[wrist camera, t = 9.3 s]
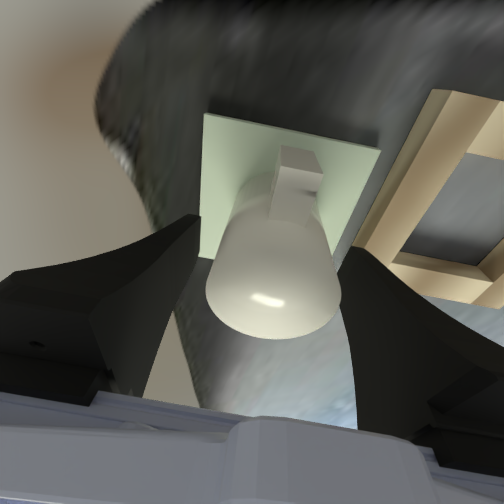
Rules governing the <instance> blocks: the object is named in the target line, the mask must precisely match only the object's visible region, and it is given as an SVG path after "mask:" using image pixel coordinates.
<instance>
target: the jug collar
mask: <svg viewBox="0 0 504 504" xmlns="http://www.w3.org/2000/svg"><path fill="white" fill-rule="evenodd" d="M466 152H468V153H472V154H477V155H482V156H487V157H491V158H496V159H501V160H504V102H503V101H499V100H494V99H489V98H485V97H480V96H476V95H471V94H466V93H462V92H457V91H452V90H441V89H432V90H431V92H430V94H429V96H428V98H427V100H426V102H425V104H424V106H423V108H422V110H421V112H420V114H419V116H418V118H417V119H416V121H415V123H414V125H413V127H412V129H411V131H410V133H409V135H408V137H407V139H406V141H405V143H404V145H403V147H402V149H401V150H400V152H399V154H398V156H397V158H396V160H395V162H394V164H393V166H392V168H391V170H390V172H389V174H388V176H387V178H386V180H385V182H384V183H383V185H382V187H381V189H380V191H379V193H378V195H377V197H376V199H375V201H374V203H373V205H372V207H371V209H370V211H369V213H368V214H367V216H366V218H365V220H364V222H363V224H362V226H361V228H360V230H359V232H358V234H357V236H356V238H355V240H354V242H353V244H352V246H356V247H361V248H364V249H366V250H367V251H369V252H370V253H371V254H372V255H373V256H375V257H376V258H377V259H378V260H379V261H380V262H381V263H382V264H384V265H385V266H386V267H387V268H388V269H389V270H390V271H391V272H393V273H394V274H395V275H396V276H397V277H398V278H399V279H401V280H402V281H403V282H404V283H405V284H406V285H408V286H409V287H410V288H411V289H413V290H414V291H415V292H416V293H418V294H422V295H427V296H432V297H437V298H443V299H448V300H453V301H458V302H464V303H469V304H474V305H479V306H485V307H490V308H495V309H500V308H501V307H502V306H504V238H503V239H502V240H501V241H500V243H499V244H498V245H497V246H496V247H495V248H494V249H493V250H492V251H491V252H490V253H489V254H488V255H487V256H486V257H485V258H484V259H483V260H482V261H481V262H480V263H479V264H478V265H477V266H472V265H467V264H462V263H457V262H452V261H447V260H441V259H436V258H431V257H426V256H421V255H416V254H411V253H406V252H400V251H399V250H400V249H401V248H402V246H403V245H404V243H405V242H406V240H407V239H408V237H409V236H410V234H411V233H412V231H413V230H414V228H415V227H416V225H417V224H418V222H419V221H420V219H421V218H422V216H423V215H424V213H425V212H426V210H427V209H428V207H429V206H430V204H431V203H432V202H433V200H434V199H435V197H436V196H437V194H438V193H439V191H440V190H441V188H442V187H443V185H444V184H445V182H446V181H447V179H448V178H449V176H450V175H451V173H452V172H453V170H454V169H455V167H456V166H457V164H458V163H459V161H460V160H461V158H462V157H463V156H464V154H465V153H466Z"/></svg>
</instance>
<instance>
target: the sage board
mask: <svg viewBox="0 0 504 504" xmlns="http://www.w3.org/2000/svg"><path fill="white" fill-rule="evenodd" d="M280 145H284V146H289V147H294V148H299V149H304V150H309V151H314V153H315V155H316V158H317V160H318V162H319V165H320V167H321V169H322V172H323V174H324V175H323V178H322V181H321V183H320V186H319V189H318V192H317V195H316V198H315V199H316V202H317V206H318V209H319V213H320V216H321V220H322V223H323V227H324V230H325V234H326V237H327V241H328V245H329V248H330V252H331V255H332V254H333V252H334V250H335V248H336V246H337V244H338V242H339V239H340V237H341V235H342V233H343V231H344V229H345V227H346V225H347V222H348V220H349V218H350V216H351V214H352V212H353V210H354V208H355V205H356V203H357V201H358V199H359V197H360V195H361V193H362V191H363V188H364V186H365V184H366V182H367V180H368V178H369V176H370V174H371V171H372V169H373V167H374V165H375V163H376V161H377V159H378V157H379V154H380V152H381V150H380V149H378V148H376V147H371V146H366V145H361V144H357V143H352V142H347V141H342V140H337V139H332V138H328V137H323V136H318V135H313V134H308V133H303V132H299V131H294V130H289V129H284V128H279V127H275V126H270V125H265V124H260V123H255V122H250V121H246V120H241V119H236V118H231V117H226V116H221V115H217V114H212V113H205V114H204V125H203V148H202V171H201V194H200V216H201V235H200V252H199V255H198V256H199V257H205V258H210V259H215V256H216V253H217V251H218V248H219V245H220V242H221V239H222V236H223V233H224V230H225V228H226V225H227V222H228V219H229V216H230V213H231V210H232V208H233V205H234V202H235V199H236V196H237V194H238V192H239V190H240V189H241V188H242V186H243V185H244V184H245V183H246V182H248V181H249V180H250V179H252V178H253V177H255V176H257V175H260V174H263V173H267V172H274V171H275V167H276V162H277V158H278V153H279V149H280Z"/></svg>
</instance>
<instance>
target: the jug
mask: <svg viewBox="0 0 504 504" xmlns="http://www.w3.org/2000/svg"><path fill="white" fill-rule="evenodd" d="M323 175H324V174H323V172H322V169H321V167H320V165H319V162H318V160H317V158H316V155H315V153H314V151H309V150H304V149H299V148H294V147H289V146H284V145H280V149H279V153H278V158H277V162H276V167H275V171H274V172H267V173H263V174H260V175H257V176H255V177H253V178H252V179H250V180H249V181H248V182H246V183H245V184H244V185H243V186H242V188H241V189H240V190H239V192H238V194H237V196H236V199H235V202H234V205H233V208H232V210H231V213H230V216H229V219H228V222H227V225H226V228H225V230H224V233H223V236H222V239H221V242H220V245H219V248H218V251H217V253H216V256H215V259H214V262H213V265H212V268H211V271H210V274H209V276H208V279H207V283H206V297H207V301H208V303H209V306H210V307H211V309H212V311H213V312H214V313H215V315H216V316H217V317H218V318H219V319H220V320H221V321H223V322H224V323H225V324H226V325H228V326H230V327H231V328H233V329H235V330H237V331H239V332H242V333H244V334H247V335H250V336H254V337H259V338H265V339H288V338H294V337H299V336H303V335H306V334H308V333H311V332H313V331H315V330H317V329H319V328H320V327H322V326H324V325H325V324H326V323H327V322H328V321H329V320H330V319H331V318H332V317H333V316H334V315H335V313H336V312H337V310H338V308H339V305H340V301H341V287H340V283H339V280H338V276H337V273H336V269H335V266H334V262H333V259H332V255H331V252H330V248H329V245H328V241H327V237H326V234H325V230H324V227H323V223H322V220H321V216H320V213H319V209H318V206H317V202H316V199H315V198H316V195H317V192H318V189H319V186H320V183H321V181H322V178H323Z"/></svg>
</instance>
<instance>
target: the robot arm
mask: <svg viewBox="0 0 504 504" xmlns="http://www.w3.org/2000/svg"><path fill="white" fill-rule="evenodd" d="M200 235H201V216H197V215H192V214H187V215H185V216H184V217H182V218H180V219H179V220H177V221H175V222H173V223H172V224H170V225H168V226H166V227H165V228H163V229H161V230H159V231H157V232H155V233H153V234H151V235H149V236H147V237H145V238H143V239H141V240H139V241H137V242H134V243H132V244H130V245H127V246H124V247H122V248H119V249H116V250H113V251H110V252H106V253H103V254H100V255H97V256H93V257H89V258H85V259H81V260H77V261H72V262H68V263H63V264H58V265H53V266H46V267H41V268H34V269H28V270H21V271H15V272H13V273H12V274H11V275H9V276H8V277H7V278H5V279H4V280H2V281H1V282H0V504H504V347H502V346H501V345H499V344H497V343H495V342H493V341H491V340H489V339H487V338H486V337H484V336H482V335H480V334H479V333H477V332H475V331H473V330H472V329H470V328H468V327H466V326H465V325H463V324H462V323H460V322H458V321H457V320H455V319H453V318H452V317H450V316H449V315H447V314H446V313H444V312H443V311H441V310H440V309H438V308H437V307H435V306H434V305H433V304H431V303H430V302H428V301H427V300H426V299H424V298H423V297H422V296H420V295H419V294H418V293H416V292H415V291H414V290H413V289H411V288H410V287H409V286H408V285H406V284H405V283H404V282H403V281H402V280H401V279H399V278H398V277H397V276H396V275H395V274H394V273H393V272H391V271H390V270H389V269H388V268H387V267H386V266H385V265H384V264H382V263H381V262H380V261H379V260H378V259H377V258H376V257H375V256H373V255H372V254H371V253H370V252H369V251H367V250H366V249H364V248H361V247H356V246H351V247H350V249H349V251H348V253H347V255H346V257H345V259H344V261H343V263H342V265H341V267H340V268H339V270H338V272H337V276H338V280H339V283H340V287H341V301H340V305H339V306H340V310H341V313H342V317H343V321H344V325H345V328H346V332H347V336H348V341H349V345H350V352H351V359H352V366H353V375H354V384H355V395H356V407H357V426H358V430H356V429H350V428H344V427H339V426H333V425H327V424H321V423H315V422H310V421H304V420H298V419H292V418H287V417H274V416H258V417H249V416H243V415H237V414H232V413H226V412H220V411H214V410H208V409H203V408H196V407H191V406H185V405H179V404H174V403H167V402H162V401H156V400H150V399H144V398H142V396H143V393H144V390H145V387H146V384H147V381H148V378H149V375H150V371H151V369H152V366H153V363H154V360H155V357H156V354H157V351H158V348H159V346H160V343H161V340H162V337H163V334H164V331H165V329H166V326H167V324H168V321H169V318H170V316H171V313H172V311H173V309H174V306H175V304H176V302H177V300H178V298H179V296H180V294H181V293H182V291H183V289H184V287H185V285H186V283H187V281H188V279H189V277H190V275H191V273H192V271H193V269H194V266H195V264H196V261H197V258H198V255H199V252H200Z"/></svg>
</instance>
